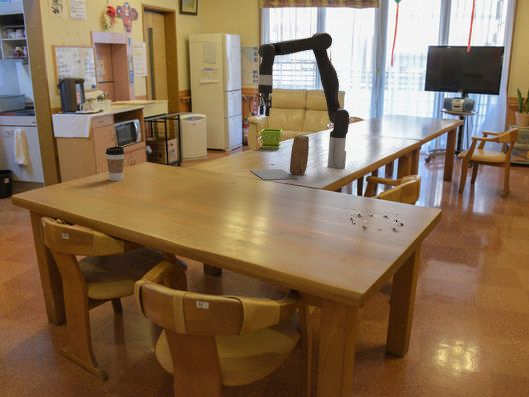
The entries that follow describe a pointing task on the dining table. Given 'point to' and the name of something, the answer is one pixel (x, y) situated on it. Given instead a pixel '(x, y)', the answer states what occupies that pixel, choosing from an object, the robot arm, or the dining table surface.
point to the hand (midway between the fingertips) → (264, 115)
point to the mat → (273, 174)
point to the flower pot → (271, 138)
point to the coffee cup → (115, 162)
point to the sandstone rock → (299, 155)
